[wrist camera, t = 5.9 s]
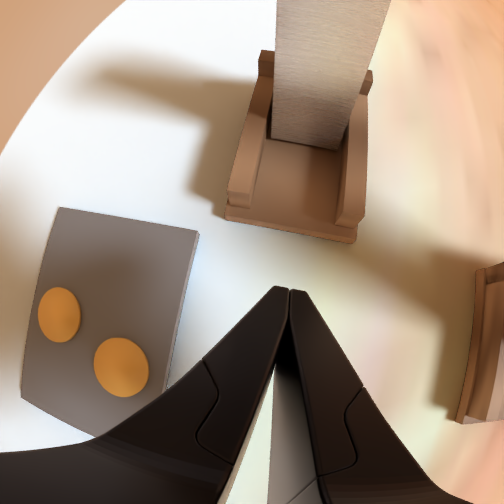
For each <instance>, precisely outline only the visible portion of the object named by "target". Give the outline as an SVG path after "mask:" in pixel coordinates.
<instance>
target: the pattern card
mask: <svg viewBox="0 0 504 504" xmlns="http://www.w3.org/2000/svg"><path fill="white" fill-rule="evenodd" d="M199 235H200V234H199V233H198V231H195V230H190V229H184V228H178V227H173V226H167V225H162V224H156V223H150V222H145V221H139V220H133V219H127V218H122V217H116V216H110V215H104V214H99V213H93V212H87V211H81V210H75V209H69V208H63V207H60V208H59V210H58V213H57V216H56V219H55V222H54V225H53V228H52V231H51V235H50V238H49V241H48V244H47V248H46V251H45V255H44V259H43V262H42V266H41V270H40V274H39V278H38V282H37V286H36V291H35V295H34V300H33V305H32V310H31V316H30V321H29V327H28V333H27V340H26V347H25V355H24V364H23V374H22V387H21V398H23V399H24V400H26V401H28V402H29V403H31V404H33V405H34V406H36V407H38V408H39V409H41V410H43V411H45V412H46V413H48V414H50V415H52V416H54V417H56V418H57V419H59V420H61V421H63V422H65V423H67V424H69V425H71V426H73V427H75V428H77V429H79V430H81V431H83V432H85V433H88V434H90V435H92V436H94V437H98V436H100V435H102V434H104V433H105V432H107V431H109V430H110V429H112V428H113V427H115V426H116V425H118V424H119V423H121V422H122V421H124V420H125V419H127V418H128V417H130V416H131V415H133V414H134V413H135V412H137V411H138V410H140V409H141V408H143V407H144V406H146V405H147V404H148V403H150V402H151V401H153V400H154V399H156V398H157V397H158V396H160V395H161V394H162V393H163V392H165V391H166V386H167V380H168V375H169V370H170V364H171V359H172V354H173V349H174V344H175V339H176V335H177V330H178V325H179V320H180V316H181V311H182V307H183V302H184V298H185V293H186V289H187V284H188V280H189V276H190V272H191V267H192V263H193V259H194V255H195V251H196V247H197V243H198V239H199Z"/></svg>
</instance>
